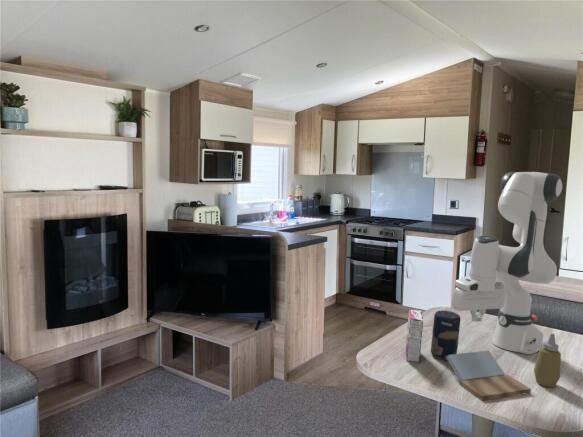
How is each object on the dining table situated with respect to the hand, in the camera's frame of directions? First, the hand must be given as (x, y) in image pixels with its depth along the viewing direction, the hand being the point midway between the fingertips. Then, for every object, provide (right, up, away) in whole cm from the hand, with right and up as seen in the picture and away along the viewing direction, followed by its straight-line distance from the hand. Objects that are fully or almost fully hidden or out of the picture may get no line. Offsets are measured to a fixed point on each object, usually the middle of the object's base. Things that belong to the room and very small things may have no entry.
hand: (476, 321), depth 166 cm
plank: (0, -16, +1) cm, 16 cm away
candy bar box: (-19, -17, +14) cm, 29 cm away
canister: (-7, -17, +16) cm, 24 cm away
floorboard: (+3, -21, -8) cm, 23 cm away
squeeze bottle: (+23, -21, -2) cm, 32 cm away
